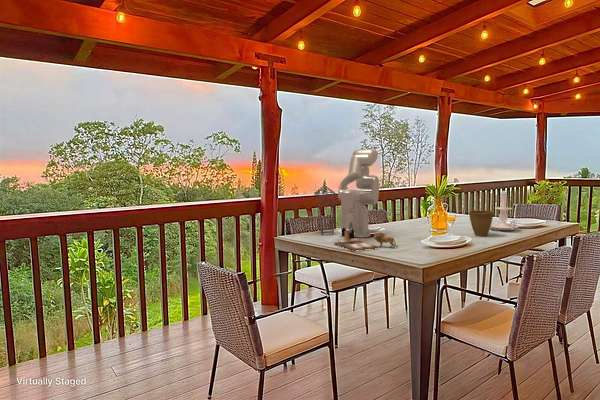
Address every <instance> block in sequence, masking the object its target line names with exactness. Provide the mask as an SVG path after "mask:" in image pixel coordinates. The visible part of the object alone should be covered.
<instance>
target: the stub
mask: <svg viewBox="0 0 600 400" xmlns="http://www.w3.org/2000/svg"><path fill="white" fill-rule="evenodd" d="M349 232H350V231H349V229H346V231H345V236H344V239H339V240H337V242H341V243H344V242H352V241H358V240H359V239H357V238H354V239H349Z"/></svg>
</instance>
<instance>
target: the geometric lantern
mask: <svg viewBox="0 0 600 400" xmlns="http://www.w3.org/2000/svg"><path fill="white" fill-rule="evenodd" d="M322 190H323V191H322ZM321 191H322V192H321ZM328 191H329V192H328ZM313 194H314V198H315V201H316V203H317V230H318V231H320V233H321V235H322V236H324V235H325V236H327V235H329V236H330V235H331V236H332V235H334V231H335V230H336V229H337V223H336V215H335V205H334V202H335V199H336V195H337V193H336V191H333V190H332V189H331V188H330V187H328V186H326V185H323V186H321V187H320V188H319V189H318V190H317V191H315V192H314V193H313ZM317 197H318V198H320V203H319V200H318V198H317ZM331 197H333V199H332V200H333V201H331V200H330V198H331ZM324 200H327V202H323V201H324ZM328 205H330V211H331V224H329V225H328V227H331V228H322V227H326V225H322V214H321V213H322V207H325V206H328ZM319 221H320V222H319Z"/></svg>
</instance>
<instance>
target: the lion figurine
mask: <svg viewBox="0 0 600 400" xmlns="http://www.w3.org/2000/svg"><path fill="white" fill-rule="evenodd" d="M373 239H374V240H375V241H376V242H377V243H379V244H380V245H379V248H380V247H381V248H383V245H384V244H387V243H389V244H390V246H389V247H390V248H392V249H393V248H394V249H395V248H399V246H398V245H397V243H396V240H395V238H394V237H393V236H385V235H384V234H382V233H380V232H373ZM383 243H384V244H383Z"/></svg>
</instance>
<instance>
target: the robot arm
mask: <svg viewBox="0 0 600 400" xmlns="http://www.w3.org/2000/svg"><path fill="white" fill-rule="evenodd" d="M378 157H379V154H378V151H377V150H376V149H375V148H371V149H369V148H367V149H357V150H356V149H355V150H354V151H352V156H351V157H350V162H349V166H348V167H349V168H348V174H347V175H345V177H344V178H343V179H342V180H341V182H340V184H339V186H338V191H337V197H338V200H339V201H341V202H340V203H341V204H340V206H341V209H340V210H341V214H340V228H341V237H345V231H346V230H349V231H350V232H349V239H355V238H361V239H362V238H369V237H371V236H372V235H371V233H375V229H370V228H369V210H368V208H367V205H373V206H374V205H377V204H378V202H379V194H380V193H379V192H380V180H379V176H378V175H372V174H370V168H369V167H372V166H373V165H374V164H375V163H376V161H377V160H378ZM353 182H354V183H355V186H356V188H357V189H346V188H347V186H348V185H349V184H352V183H353ZM358 189H359V190H358ZM354 233H355V234H354Z"/></svg>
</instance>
